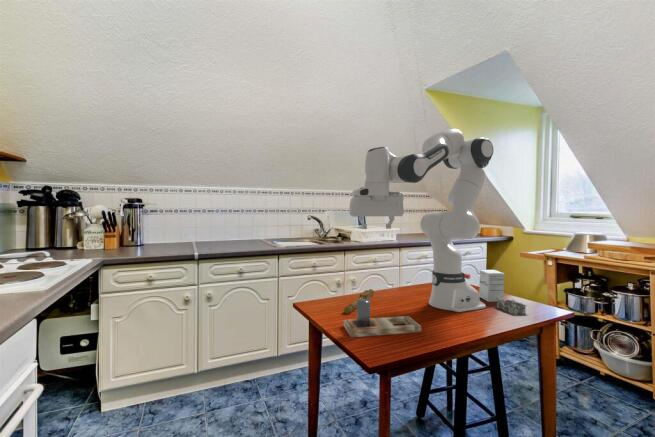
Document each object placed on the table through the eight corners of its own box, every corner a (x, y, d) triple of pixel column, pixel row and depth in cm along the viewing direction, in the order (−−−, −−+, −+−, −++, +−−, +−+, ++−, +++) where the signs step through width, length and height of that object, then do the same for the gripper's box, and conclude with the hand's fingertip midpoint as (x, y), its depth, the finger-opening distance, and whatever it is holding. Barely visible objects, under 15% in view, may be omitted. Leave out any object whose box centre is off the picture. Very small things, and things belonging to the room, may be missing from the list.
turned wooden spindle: (343, 306, 131) (368, 288, 158) (343, 314, 131) (368, 294, 158) (350, 307, 130) (375, 288, 157) (350, 315, 130) (375, 295, 157)
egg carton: (493, 307, 141) (494, 297, 140) (510, 306, 142) (510, 296, 141) (511, 315, 130) (511, 305, 130) (529, 314, 131) (529, 304, 131)
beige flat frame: (408, 321, 122) (408, 315, 122) (421, 331, 113) (421, 325, 112) (343, 325, 118) (343, 319, 118) (351, 337, 108) (351, 330, 108)
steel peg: (367, 327, 116) (367, 298, 116) (371, 332, 112) (372, 302, 112) (355, 328, 116) (355, 299, 115) (358, 333, 111) (359, 303, 111)
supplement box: (478, 297, 154) (479, 269, 153) (494, 296, 154) (495, 269, 154) (487, 302, 146) (488, 273, 146) (503, 301, 147) (504, 272, 146)
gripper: (400, 191, 130) (399, 227, 131) (348, 191, 126) (348, 228, 127) (406, 191, 124) (406, 229, 124) (352, 190, 120) (352, 229, 120)
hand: (376, 228), depth 125 cm, fingers open, 8 cm apart
